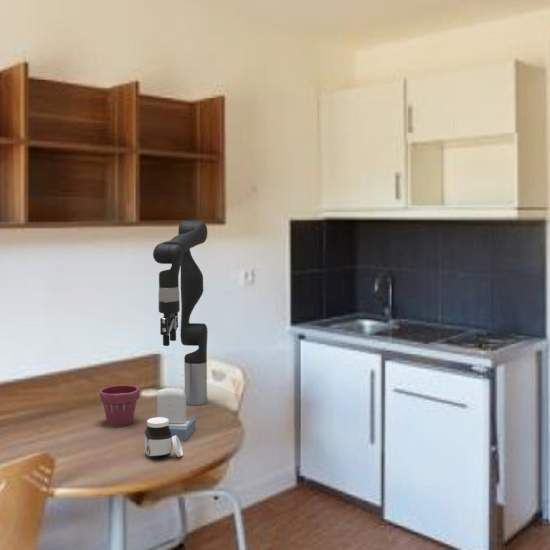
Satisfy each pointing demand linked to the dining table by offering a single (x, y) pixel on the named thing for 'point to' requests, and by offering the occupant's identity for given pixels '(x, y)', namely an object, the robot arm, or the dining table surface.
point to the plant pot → (119, 403)
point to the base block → (183, 429)
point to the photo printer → (172, 405)
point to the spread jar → (160, 439)
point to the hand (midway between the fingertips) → (169, 343)
